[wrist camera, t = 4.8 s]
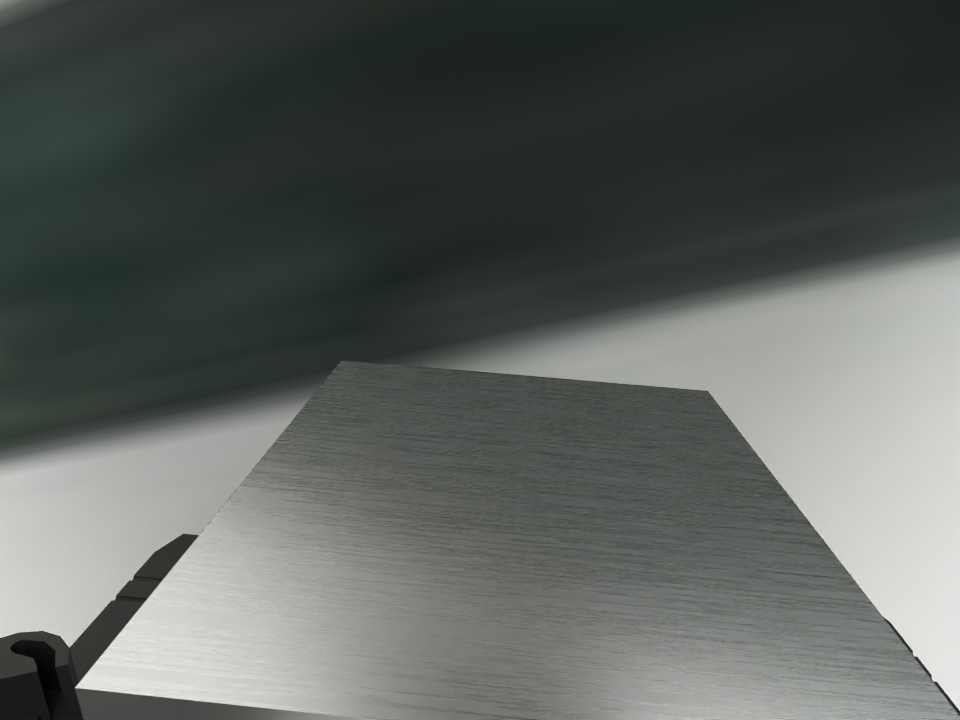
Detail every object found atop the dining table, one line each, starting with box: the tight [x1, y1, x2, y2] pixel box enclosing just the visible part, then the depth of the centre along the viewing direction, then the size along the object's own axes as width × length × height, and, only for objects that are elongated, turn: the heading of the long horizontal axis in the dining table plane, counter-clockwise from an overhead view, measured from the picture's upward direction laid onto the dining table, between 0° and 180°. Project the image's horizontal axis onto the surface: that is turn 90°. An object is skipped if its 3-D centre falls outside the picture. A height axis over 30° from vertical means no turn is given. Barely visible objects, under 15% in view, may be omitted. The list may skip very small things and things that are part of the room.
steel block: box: [75, 360, 960, 720], centre depth 9 cm, size 5×8×8 cm, turn 86°
